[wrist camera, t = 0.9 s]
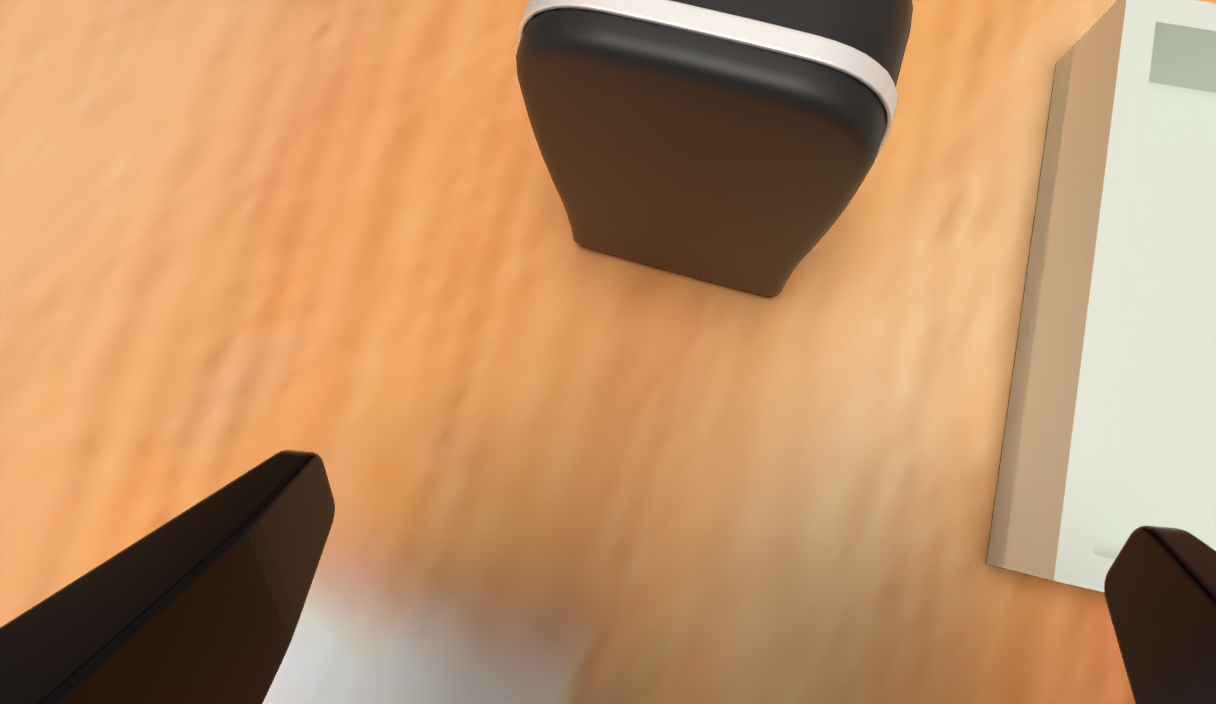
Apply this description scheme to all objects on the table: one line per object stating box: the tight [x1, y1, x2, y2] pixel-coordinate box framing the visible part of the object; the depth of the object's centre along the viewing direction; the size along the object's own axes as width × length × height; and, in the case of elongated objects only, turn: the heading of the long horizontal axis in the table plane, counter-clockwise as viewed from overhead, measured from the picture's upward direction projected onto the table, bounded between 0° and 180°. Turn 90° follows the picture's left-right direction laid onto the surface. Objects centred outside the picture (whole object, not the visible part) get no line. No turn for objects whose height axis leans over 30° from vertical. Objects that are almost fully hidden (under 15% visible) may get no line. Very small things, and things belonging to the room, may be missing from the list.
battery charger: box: [516, 0, 913, 297], centre depth 17 cm, size 7×4×11 cm, turn 73°
